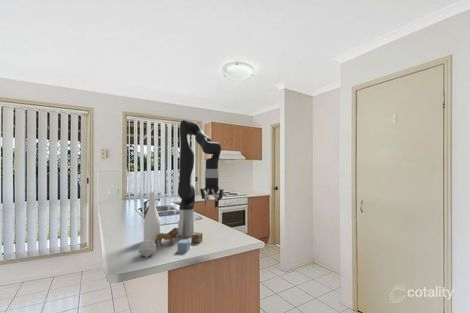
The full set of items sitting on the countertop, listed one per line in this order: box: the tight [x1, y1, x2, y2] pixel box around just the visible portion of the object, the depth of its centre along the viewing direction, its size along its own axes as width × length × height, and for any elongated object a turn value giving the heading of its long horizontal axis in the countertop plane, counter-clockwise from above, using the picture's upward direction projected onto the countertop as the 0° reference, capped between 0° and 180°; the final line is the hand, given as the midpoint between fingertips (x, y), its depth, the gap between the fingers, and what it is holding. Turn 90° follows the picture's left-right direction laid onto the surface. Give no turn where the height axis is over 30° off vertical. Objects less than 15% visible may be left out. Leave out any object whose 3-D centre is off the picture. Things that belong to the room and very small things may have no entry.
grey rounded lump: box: [137, 239, 157, 258], centre depth 122 cm, size 8×9×10 cm
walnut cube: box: [190, 232, 203, 245], centre depth 142 cm, size 5×5×5 cm
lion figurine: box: [155, 227, 179, 247], centre depth 138 cm, size 15×5×9 cm, turn 115°
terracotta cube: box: [205, 197, 216, 210], centre depth 135 cm, size 5×5×5 cm
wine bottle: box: [143, 190, 161, 244], centre depth 144 cm, size 10×10×30 cm
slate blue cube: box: [177, 239, 190, 253], centre depth 128 cm, size 5×5×5 cm
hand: (211, 206), depth 135 cm, fingers closed on terracotta cube, 5 cm apart
